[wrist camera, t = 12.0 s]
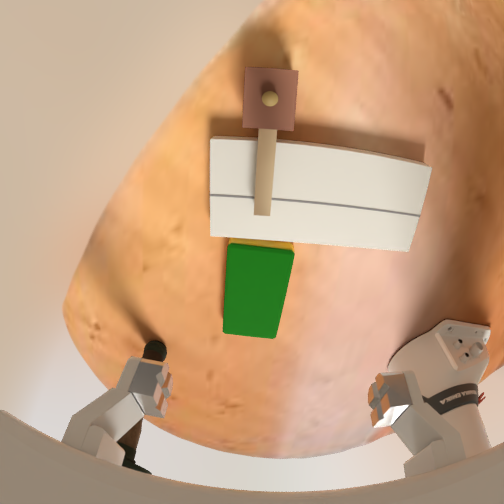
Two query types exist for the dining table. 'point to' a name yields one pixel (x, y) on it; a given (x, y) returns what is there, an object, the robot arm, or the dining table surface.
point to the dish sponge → (256, 286)
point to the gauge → (268, 122)
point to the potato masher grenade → (131, 437)
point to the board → (317, 194)
